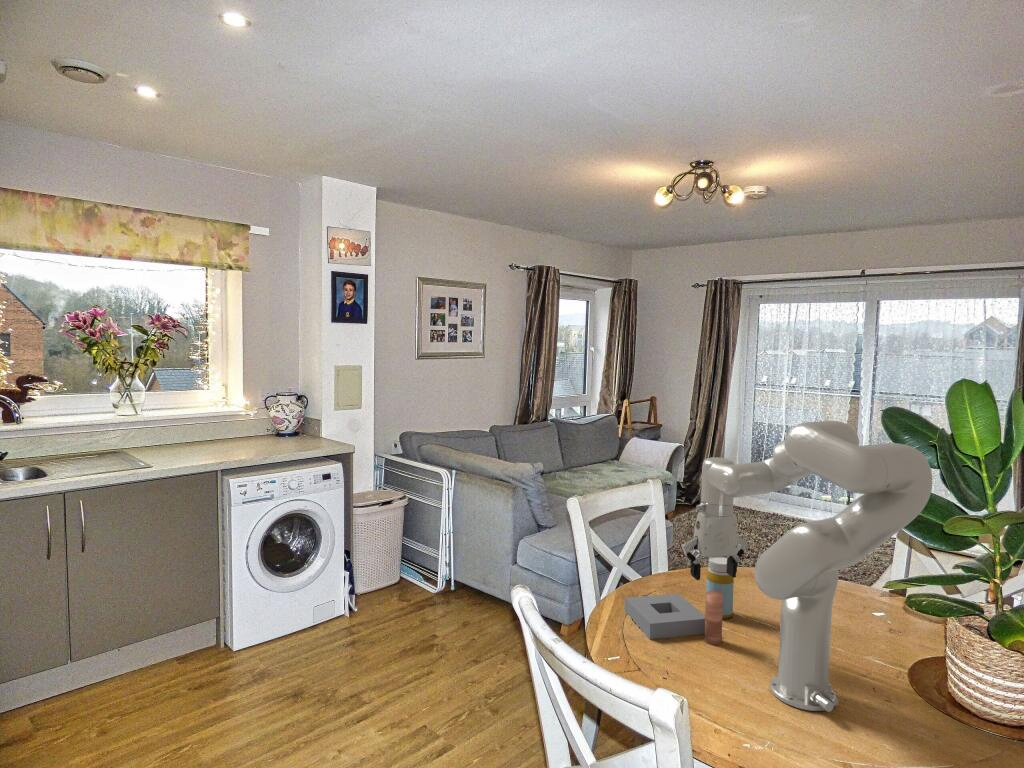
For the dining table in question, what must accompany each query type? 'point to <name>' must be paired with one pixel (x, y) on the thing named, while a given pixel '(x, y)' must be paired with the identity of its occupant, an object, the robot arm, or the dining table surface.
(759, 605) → the dining table surface
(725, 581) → the bottle
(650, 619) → the socket block
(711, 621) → the peg
